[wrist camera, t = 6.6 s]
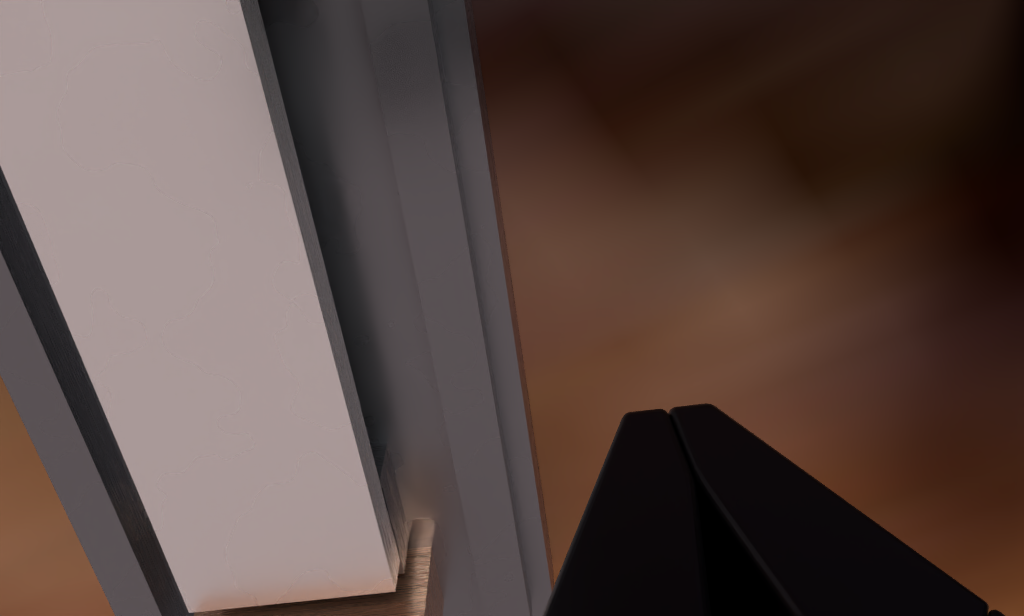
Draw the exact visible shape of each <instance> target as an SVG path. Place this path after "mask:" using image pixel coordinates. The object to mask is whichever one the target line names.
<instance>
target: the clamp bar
mask: <svg viewBox="0 0 1024 616" xmlns="http://www.w3.org/2000/svg"><path fill="white" fill-rule="evenodd" d="M0 166H1V168H2V171H3V173H4V175H5V178H6V180H7V183H8V185H9V187H10V190H11V192H12V194H13V197H14V199H15V202H16V204H17V206H18V209H19V211H20V213H21V216H22V218H23V221H24V223H25V225H26V228H27V230H28V232H29V235H30V237H31V240H32V242H33V244H34V247H35V249H36V251H37V254H38V256H39V258H40V261H41V263H42V266H43V268H44V270H45V273H46V275H47V277H48V280H49V282H50V285H51V287H52V289H53V292H54V294H55V296H56V299H57V301H58V304H59V306H60V308H61V311H62V313H63V315H64V318H65V320H66V322H67V325H68V327H69V330H70V332H71V334H72V337H73V339H74V341H75V344H76V346H77V349H78V351H79V353H80V356H81V358H82V360H83V363H84V365H85V368H86V370H87V372H88V375H89V377H90V379H91V382H92V384H93V386H94V389H95V391H96V394H97V396H98V398H99V401H100V403H101V405H102V408H103V410H104V413H105V415H106V417H107V420H108V422H109V424H110V427H111V429H112V432H113V434H114V436H115V439H116V441H117V443H118V446H119V448H120V451H121V453H122V455H123V458H124V460H125V462H126V465H127V467H128V469H129V472H130V474H131V477H132V479H133V481H134V484H135V486H136V488H137V491H138V493H139V496H140V498H141V500H142V503H143V505H144V507H145V510H146V512H147V515H148V517H149V519H150V522H151V524H152V526H153V529H154V531H155V533H156V536H157V538H158V541H159V543H160V545H161V548H162V550H163V552H164V555H165V557H166V560H167V562H168V564H169V567H170V569H171V571H172V574H173V576H174V579H175V581H176V583H177V586H178V588H179V590H180V593H181V595H182V597H183V600H184V602H185V605H186V607H187V609H188V612H189V613H193V612H203V611H213V610H222V609H232V608H242V607H251V606H261V605H271V604H280V603H290V602H300V601H309V600H319V599H329V598H338V597H348V596H358V595H367V594H377V593H387V592H395V590H396V584H397V577H398V570H399V564H400V559H399V555H398V551H397V548H396V544H395V540H394V536H393V532H392V528H391V524H390V520H389V516H388V512H387V508H386V504H385V500H384V496H383V492H382V489H381V485H380V481H379V477H378V473H377V469H376V465H375V461H374V457H373V453H372V449H371V445H370V441H369V437H368V433H367V430H366V426H365V422H364V418H363V414H362V410H361V406H360V402H359V398H358V394H357V390H356V386H355V382H354V378H353V374H352V371H351V367H350V363H349V359H348V355H347V351H346V347H345V343H344V339H343V335H342V331H341V327H340V323H339V319H338V315H337V312H336V308H335V304H334V300H333V296H332V292H331V288H330V284H329V280H328V276H327V272H326V268H325V264H324V260H323V256H322V253H321V249H320V245H319V241H318V237H317V233H316V229H315V225H314V221H313V217H312V213H311V209H310V205H309V201H308V197H307V194H306V190H305V186H304V182H303V178H302V174H301V170H300V166H299V162H298V158H297V154H296V150H295V146H294V142H293V138H292V135H291V131H290V127H289V123H288V119H287V115H286V111H285V107H284V103H283V99H282V95H281V91H280V87H279V83H278V79H277V76H276V72H275V68H274V64H273V60H272V56H271V52H270V48H269V44H268V40H267V36H266V32H265V28H264V24H263V20H262V17H261V13H260V9H259V5H258V1H257V0H0Z"/></svg>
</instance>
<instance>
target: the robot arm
mask: <svg viewBox="0 0 1024 616" xmlns="http://www.w3.org/2000/svg"><path fill="white" fill-rule="evenodd" d="M988 612H989V606H988V604H987V603H986V602H985V601H984V600H982V599H981V598H979V597H978V596H977V595H975V594H974V593H973V592H971V591H970V590H968V589H967V588H966V587H964V586H963V585H961V584H960V583H959V582H957V581H956V580H955V579H953V578H952V577H950V576H949V575H948V574H946V573H945V572H944V571H942V570H941V569H939V568H938V567H937V566H935V565H934V564H932V563H931V562H930V561H928V560H927V559H926V558H924V557H923V556H921V555H920V554H919V553H917V552H916V551H914V550H913V549H912V548H910V547H909V546H908V545H906V544H905V543H903V542H902V541H901V540H899V539H898V538H896V537H895V536H894V535H892V534H891V533H890V532H888V531H887V530H885V529H884V528H883V527H881V526H880V525H879V524H877V523H876V522H874V521H873V520H872V519H870V518H869V517H867V516H866V515H865V514H863V513H862V512H861V511H859V510H858V509H856V508H855V507H854V506H852V505H851V504H849V503H848V502H847V501H845V500H844V499H843V498H841V497H840V496H838V495H837V494H836V493H834V492H833V491H831V490H830V489H829V488H827V487H826V486H825V485H823V484H822V483H820V482H819V481H818V480H816V479H815V478H814V477H812V476H811V475H809V474H808V473H807V472H805V471H804V470H802V469H801V468H800V467H798V466H797V465H796V464H794V463H793V462H791V461H790V460H789V459H787V458H786V457H784V456H783V455H782V454H780V453H779V452H778V451H776V450H775V449H773V448H772V447H771V446H769V445H768V444H766V443H765V442H764V441H762V440H761V439H760V438H758V437H757V436H755V435H754V434H753V433H751V432H750V431H749V430H747V429H746V428H744V427H743V426H742V425H740V424H739V423H737V422H736V421H735V420H733V419H732V418H731V417H729V416H728V415H726V414H725V413H724V412H722V411H721V410H719V409H718V408H717V407H715V406H713V405H711V404H698V405H689V406H681V407H674V408H672V409H671V410H670V411H669V414H668V413H667V412H666V411H665V410H663V409H654V410H645V411H636V412H629V413H626V414H625V415H624V416H623V418H622V420H621V422H620V425H619V427H618V430H617V432H616V435H615V437H614V440H613V442H612V445H611V447H610V450H609V452H608V454H607V457H606V459H605V462H604V464H603V467H602V469H601V472H600V474H599V477H598V479H597V482H596V484H595V487H594V489H593V491H592V494H591V496H590V499H589V501H588V504H587V506H586V509H585V511H584V514H583V516H582V519H581V521H580V524H579V526H578V529H577V531H576V533H575V536H574V538H573V541H572V543H571V546H570V548H569V551H568V553H567V556H566V558H565V561H564V563H563V566H562V568H561V570H560V573H559V575H558V578H557V580H556V583H555V585H554V588H553V590H552V593H551V595H550V598H549V600H548V603H547V605H546V607H545V610H544V612H543V615H542V616H1005V615H1004V614H1002V613H1001V612H999V611H997V610H991V611H990V612H989V613H988Z"/></svg>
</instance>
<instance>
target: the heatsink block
mask: <svg viewBox="0 0 1024 616" xmlns="http://www.w3.org/2000/svg"><path fill="white" fill-rule="evenodd" d="M257 1H258V5H259V9H260V13H261V17H262V20H263V24H264V28H265V32H266V36H267V40H268V44H269V48H270V52H271V56H272V60H273V64H274V68H275V72H276V76H277V79H278V83H279V87H280V91H281V95H282V99H283V103H284V107H285V111H286V115H287V119H288V123H289V127H290V131H291V135H292V138H293V142H294V146H295V150H296V154H297V158H298V162H299V166H300V170H301V174H302V178H303V182H304V186H305V190H306V194H307V197H308V201H309V205H310V209H311V213H312V217H313V221H314V225H315V229H316V233H317V237H318V241H319V245H320V249H321V253H322V256H323V260H324V264H325V268H326V272H327V276H328V280H329V284H330V288H331V292H332V296H333V300H334V304H335V308H336V312H337V315H338V319H339V323H340V327H341V331H342V335H343V339H344V343H345V347H346V351H347V355H348V359H349V363H350V367H351V371H352V374H353V378H354V382H355V386H356V390H357V394H358V398H359V402H360V406H361V410H362V414H363V418H364V422H365V426H366V430H367V433H368V437H369V441H370V445H371V449H372V453H373V457H374V461H375V465H376V469H377V473H378V477H379V481H380V485H381V489H382V492H383V496H384V500H385V504H386V508H387V512H388V516H389V520H390V524H391V528H392V532H393V536H394V540H395V544H396V548H397V551H398V555H399V559H400V564H399V570H398V577H397V584H396V590H395V592H387V593H377V594H367V595H358V596H348V597H338V598H329V599H319V600H309V601H300V602H290V603H280V604H271V605H261V606H251V607H242V608H232V609H222V610H213V611H203V612H193V613H189V612H188V609H187V607H186V605H185V602H184V600H183V597H182V595H181V593H180V590H179V588H178V586H177V583H176V581H175V579H174V576H173V574H172V571H171V569H170V567H169V564H168V562H167V560H166V557H165V555H164V552H163V550H162V548H161V545H160V543H159V541H158V538H157V536H156V533H155V531H154V529H153V526H152V524H151V522H150V519H149V517H148V515H147V512H146V510H145V507H144V505H143V503H142V500H141V498H140V496H139V493H138V491H137V488H136V486H135V484H134V481H133V479H132V477H131V474H130V472H129V469H128V467H127V465H126V462H125V460H124V458H123V455H122V453H121V451H120V448H119V446H118V443H117V441H116V439H115V436H114V434H113V432H112V429H111V427H110V424H109V422H108V420H107V417H106V415H105V413H104V410H103V408H102V405H101V403H100V401H99V398H98V396H97V394H96V391H95V389H94V386H93V384H92V382H91V379H90V377H89V375H88V372H87V370H86V368H85V365H84V363H83V360H82V358H81V356H80V353H79V351H78V349H77V346H76V344H75V341H74V339H73V337H72V334H71V332H70V330H69V327H68V325H67V322H66V320H65V318H64V315H63V313H62V311H61V308H60V306H59V304H58V301H57V299H56V296H55V294H54V292H53V289H52V287H51V285H50V282H49V280H48V277H47V275H46V273H45V270H44V268H43V266H42V263H41V261H40V258H39V256H38V254H37V251H36V249H35V247H34V244H33V242H32V240H31V237H30V235H29V232H28V230H27V228H26V225H25V223H24V221H23V218H22V216H21V213H20V211H19V209H18V206H17V204H16V202H15V199H14V197H13V194H12V192H11V190H10V187H9V185H8V183H7V180H6V178H5V175H4V173H3V171H2V168H1V166H0V375H1V377H2V379H3V381H4V383H5V385H6V387H7V390H8V392H9V394H10V396H11V398H12V400H13V402H14V404H15V406H16V408H17V411H18V413H19V415H20V417H21V419H22V421H23V423H24V425H25V427H26V429H27V432H28V434H29V436H30V438H31V440H32V442H33V444H34V446H35V448H36V450H37V452H38V455H39V457H40V459H41V461H42V463H43V465H44V467H45V469H46V471H47V473H48V476H49V478H50V480H51V482H52V484H53V486H54V488H55V490H56V492H57V494H58V497H59V499H60V501H61V503H62V505H63V507H64V509H65V511H66V513H67V515H68V518H69V520H70V522H71V524H72V526H73V528H74V530H75V532H76V534H77V536H78V538H79V541H80V543H81V545H82V547H83V549H84V551H85V553H86V555H87V557H88V559H89V562H90V564H91V566H92V568H93V570H94V572H95V574H96V576H97V578H98V580H99V583H100V585H101V587H102V589H103V591H104V593H105V595H106V597H107V599H108V601H109V603H110V606H111V608H112V610H113V612H114V614H115V616H542V615H543V612H544V610H545V607H546V605H547V603H548V600H549V598H550V595H551V593H552V590H553V588H554V576H553V564H552V557H551V550H550V543H549V536H548V529H547V522H546V515H545V508H544V501H543V494H542V487H541V481H540V474H539V467H538V460H537V453H536V446H535V439H534V432H533V425H532V418H531V411H530V404H529V398H528V391H527V384H526V377H525V370H524V363H523V356H522V349H521V342H520V335H519V328H518V322H517V315H516V308H515V301H514V294H513V287H512V280H511V273H510V266H509V259H508V252H507V245H506V239H505V232H504V225H503V218H502V211H501V204H500V197H499V190H498V183H497V176H496V169H495V162H494V156H493V149H492V142H491V135H490V128H489V121H488V114H487V107H486V100H485V93H484V86H483V79H482V73H481V66H480V59H479V52H478V45H477V38H476V31H475V24H474V17H473V10H472V3H471V0H257Z"/></svg>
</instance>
